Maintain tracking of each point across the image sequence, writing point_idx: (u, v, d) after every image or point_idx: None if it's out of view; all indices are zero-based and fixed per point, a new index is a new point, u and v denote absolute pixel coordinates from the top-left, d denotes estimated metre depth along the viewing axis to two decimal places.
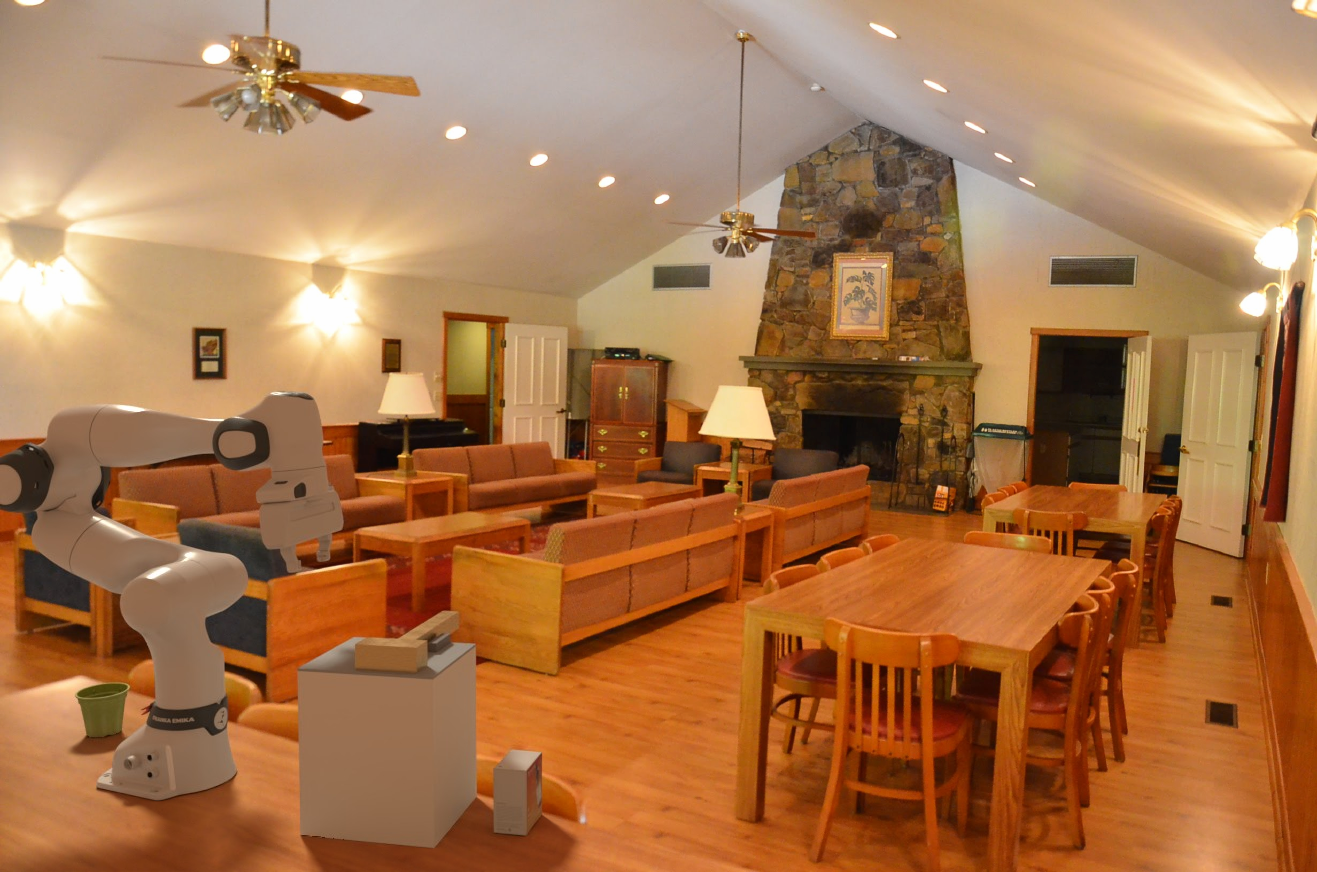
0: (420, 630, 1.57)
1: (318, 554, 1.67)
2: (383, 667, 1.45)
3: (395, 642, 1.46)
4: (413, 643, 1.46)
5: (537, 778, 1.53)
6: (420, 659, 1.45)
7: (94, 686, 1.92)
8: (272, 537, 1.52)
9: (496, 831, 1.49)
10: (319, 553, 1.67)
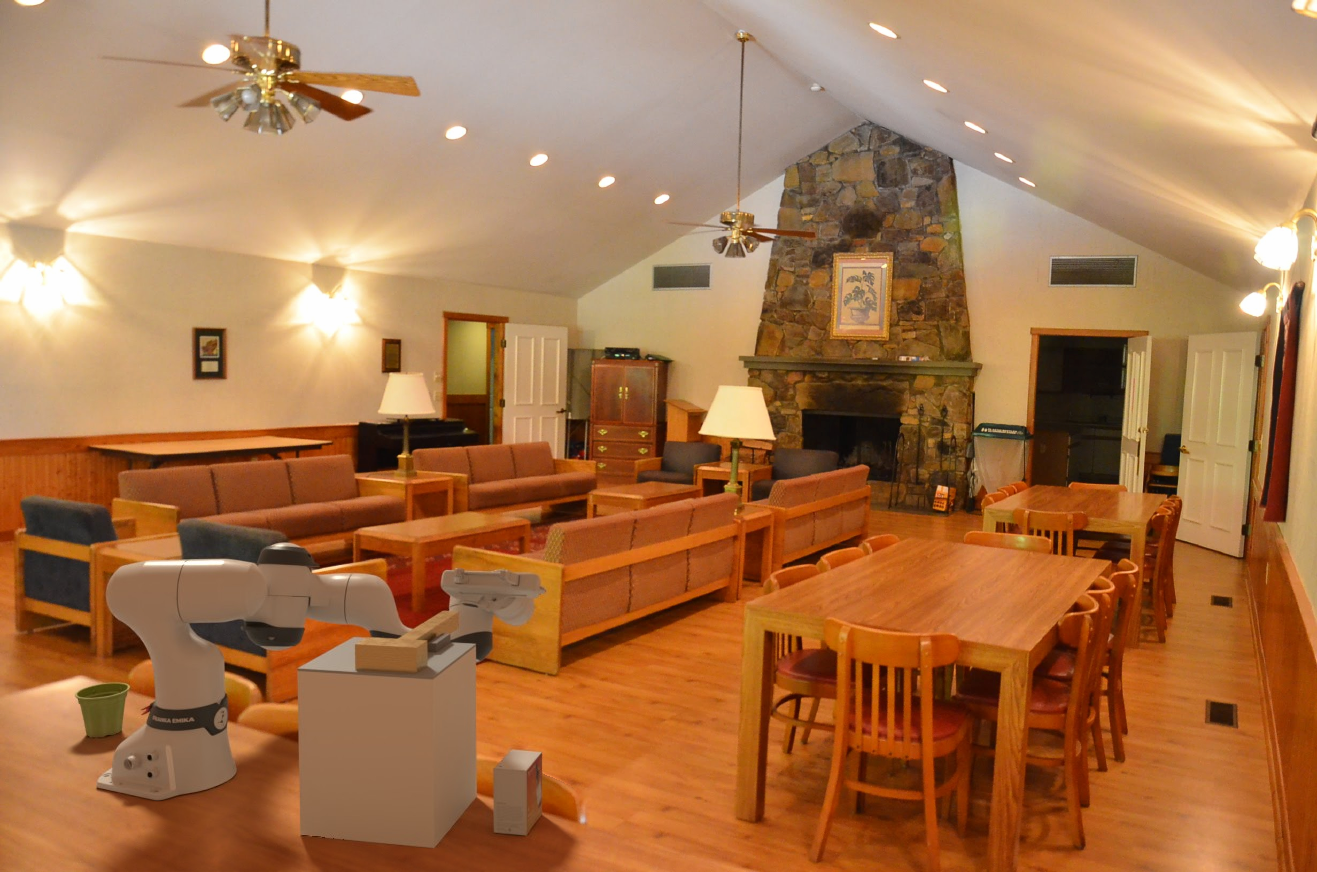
0: (420, 630, 1.57)
1: None
2: (383, 667, 1.45)
3: (395, 642, 1.46)
4: (413, 643, 1.46)
5: (537, 778, 1.53)
6: (420, 659, 1.45)
7: (94, 686, 1.92)
8: None
9: (496, 831, 1.49)
10: None
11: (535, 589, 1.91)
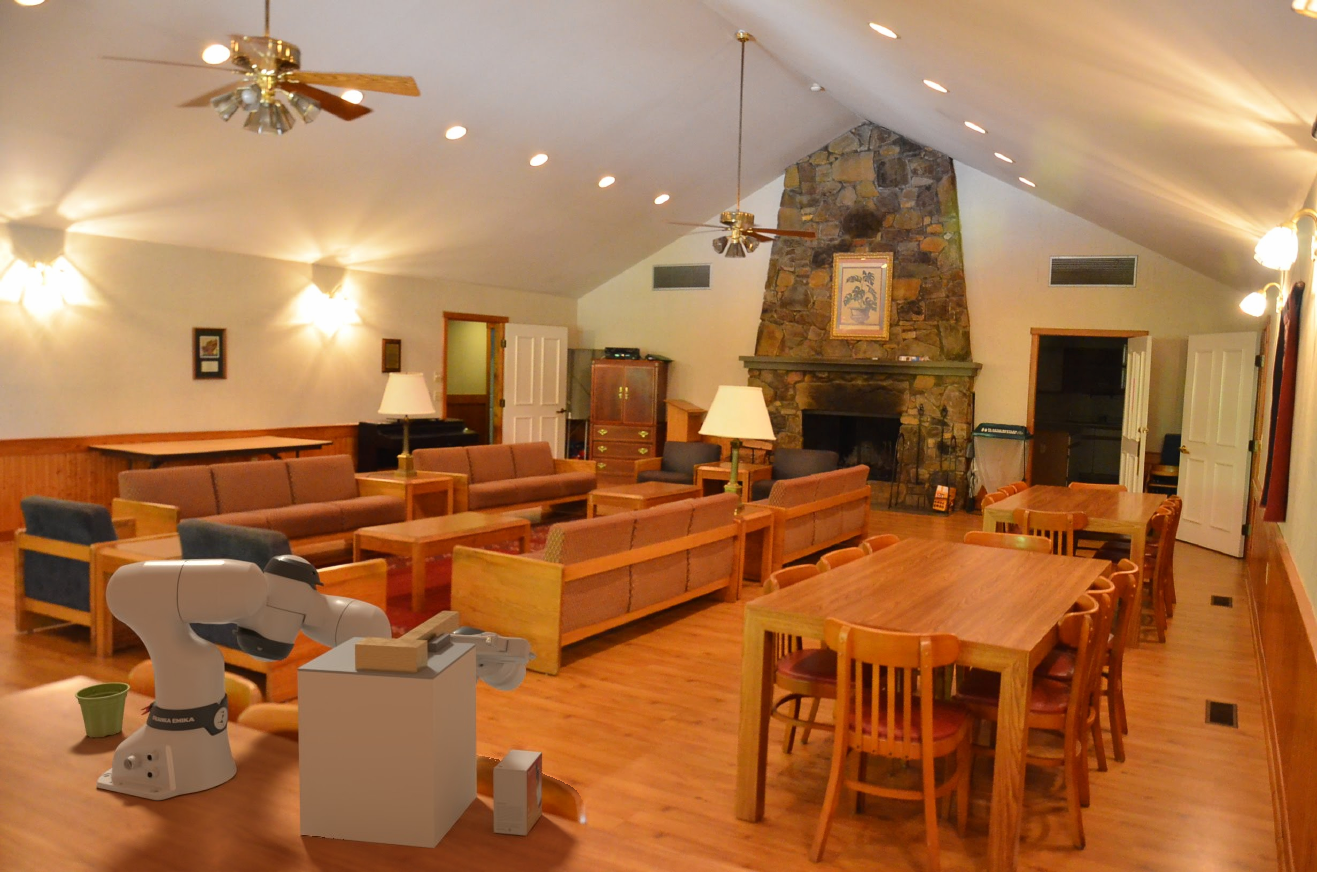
0: (420, 630, 1.57)
1: None
2: (383, 667, 1.45)
3: (395, 642, 1.46)
4: (413, 643, 1.46)
5: (537, 778, 1.53)
6: (420, 659, 1.45)
7: (94, 686, 1.92)
8: None
9: (496, 831, 1.49)
10: None
11: (524, 655, 1.79)
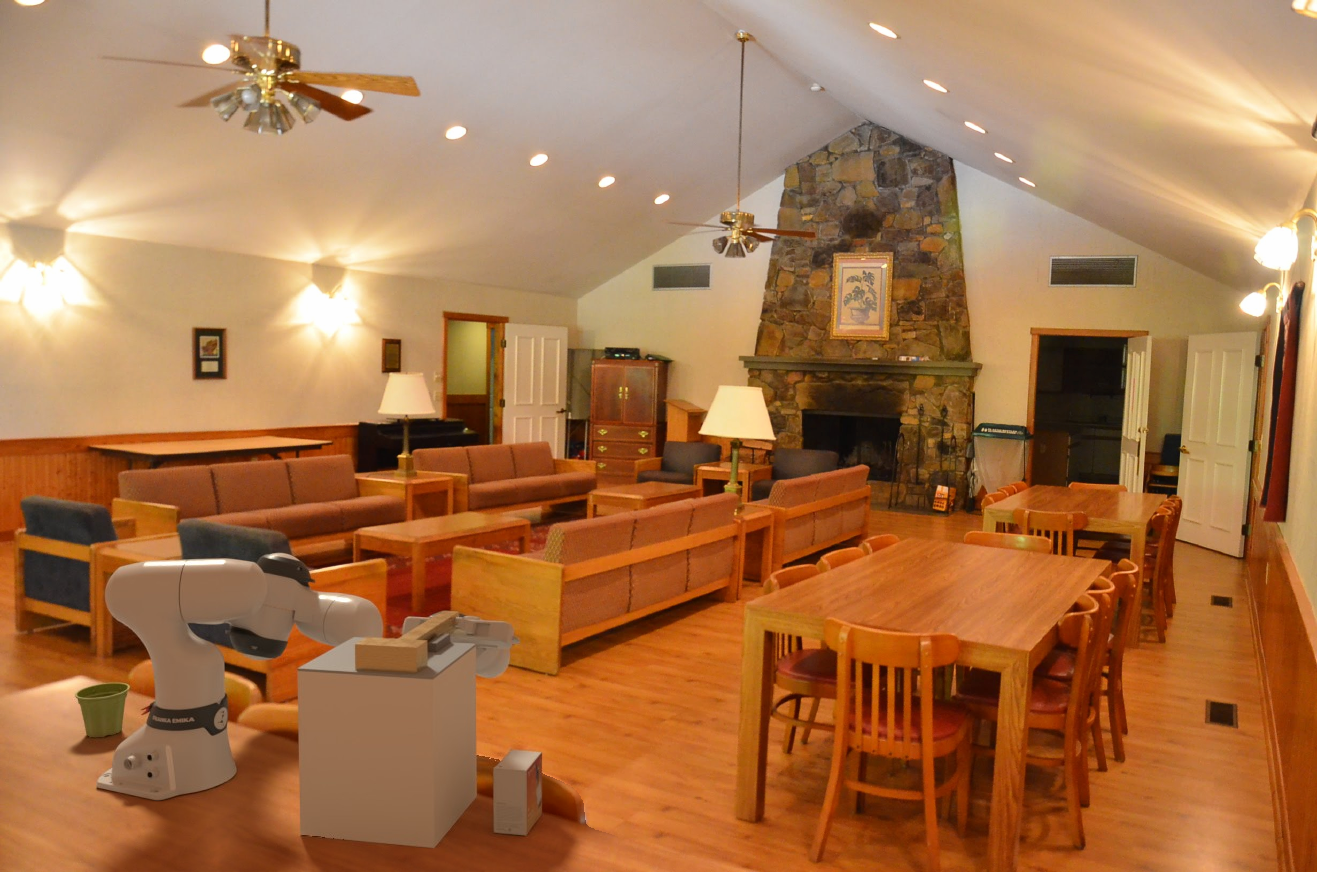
0: (420, 630, 1.57)
1: None
2: (383, 667, 1.45)
3: (395, 642, 1.46)
4: (413, 643, 1.46)
5: (537, 778, 1.53)
6: (420, 659, 1.45)
7: (94, 686, 1.92)
8: None
9: (496, 831, 1.49)
10: None
11: (506, 640, 1.71)
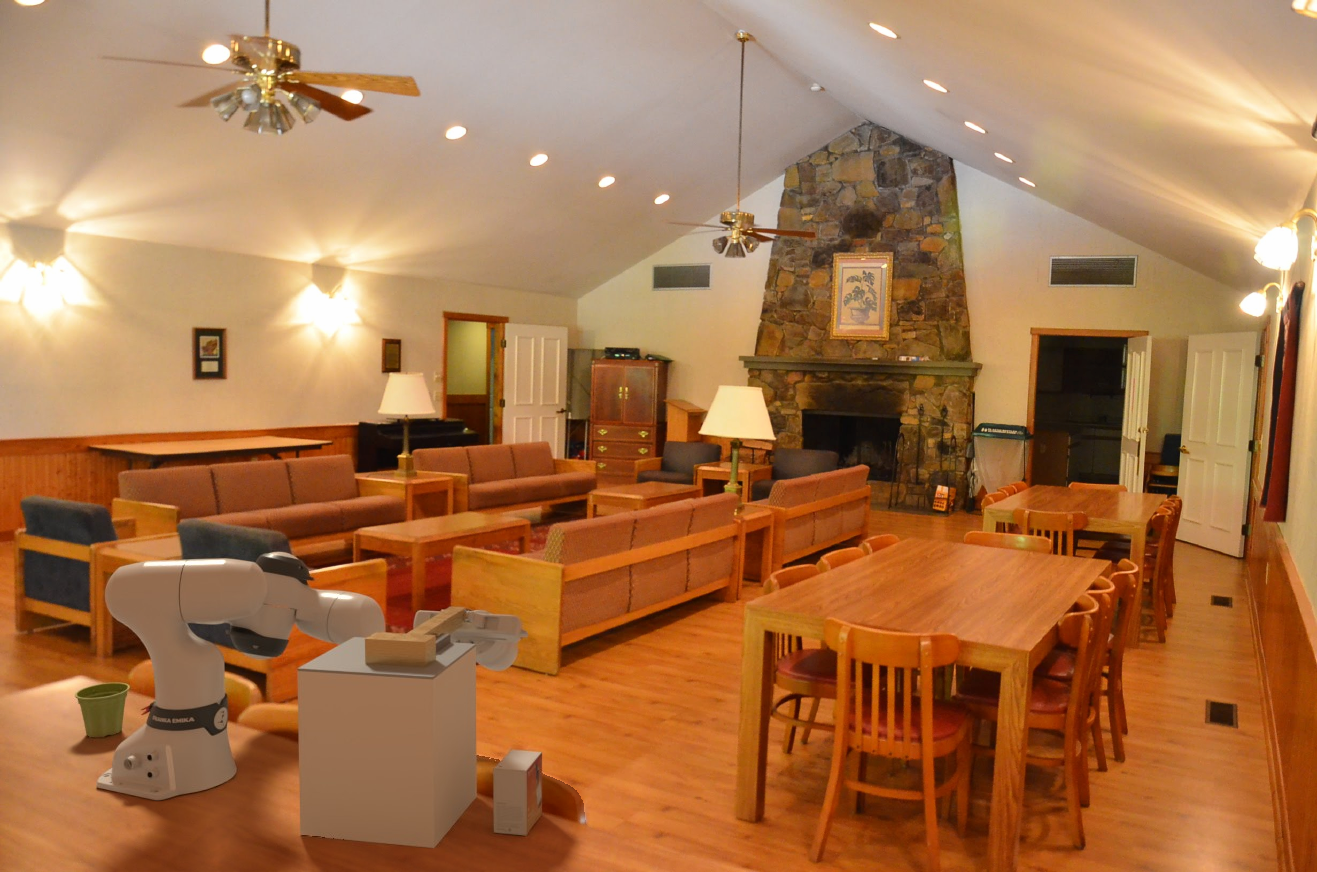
0: (428, 625, 1.60)
1: None
2: (392, 661, 1.48)
3: (404, 637, 1.49)
4: (422, 637, 1.50)
5: (537, 778, 1.53)
6: (428, 653, 1.48)
7: (94, 686, 1.92)
8: None
9: (496, 831, 1.49)
10: None
11: (515, 633, 1.75)
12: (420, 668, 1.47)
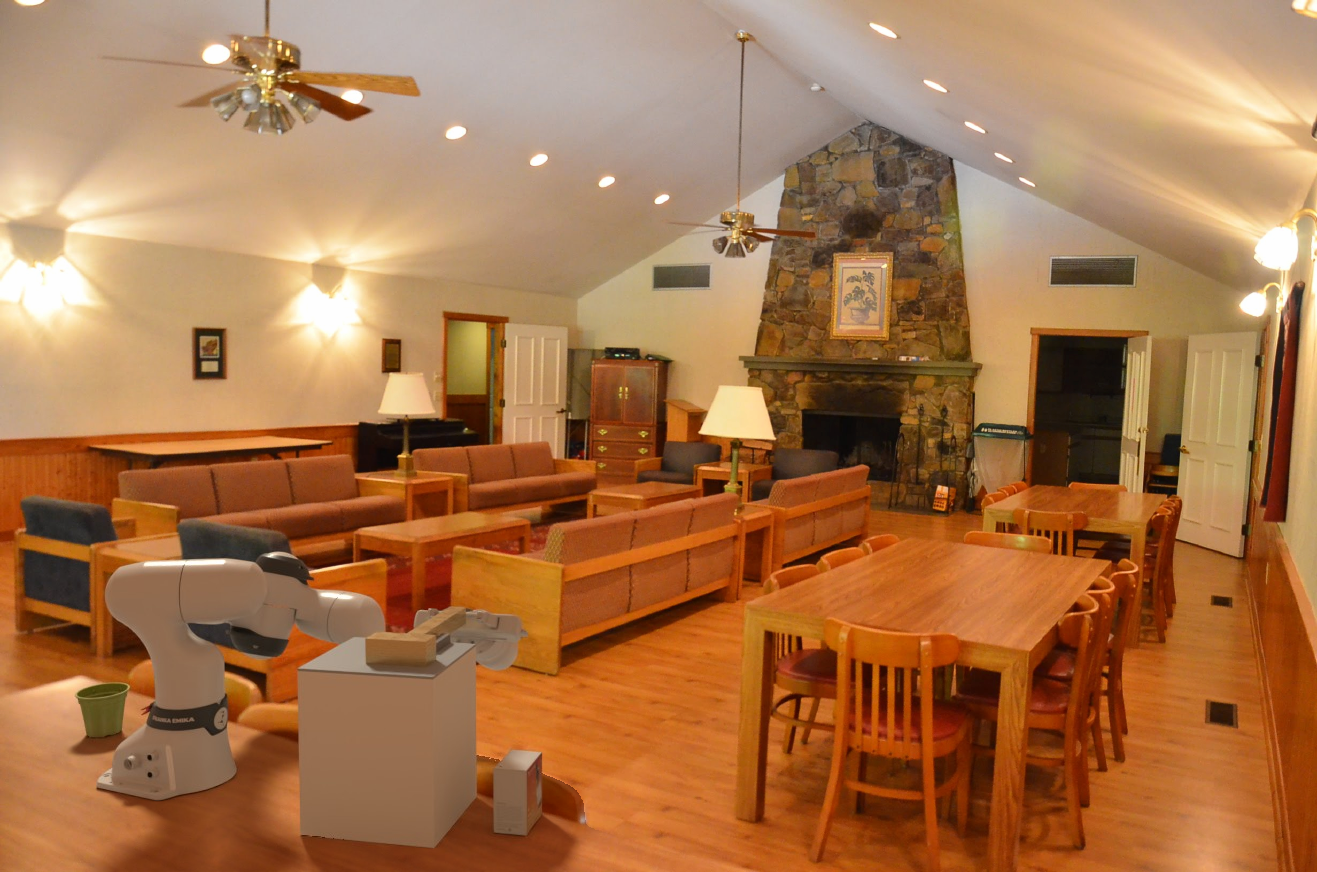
0: (428, 625, 1.61)
1: None
2: (392, 661, 1.48)
3: (405, 637, 1.50)
4: (422, 637, 1.50)
5: (537, 778, 1.53)
6: (429, 653, 1.49)
7: (94, 686, 1.92)
8: None
9: (496, 831, 1.49)
10: None
11: (515, 632, 1.75)
12: (420, 668, 1.47)
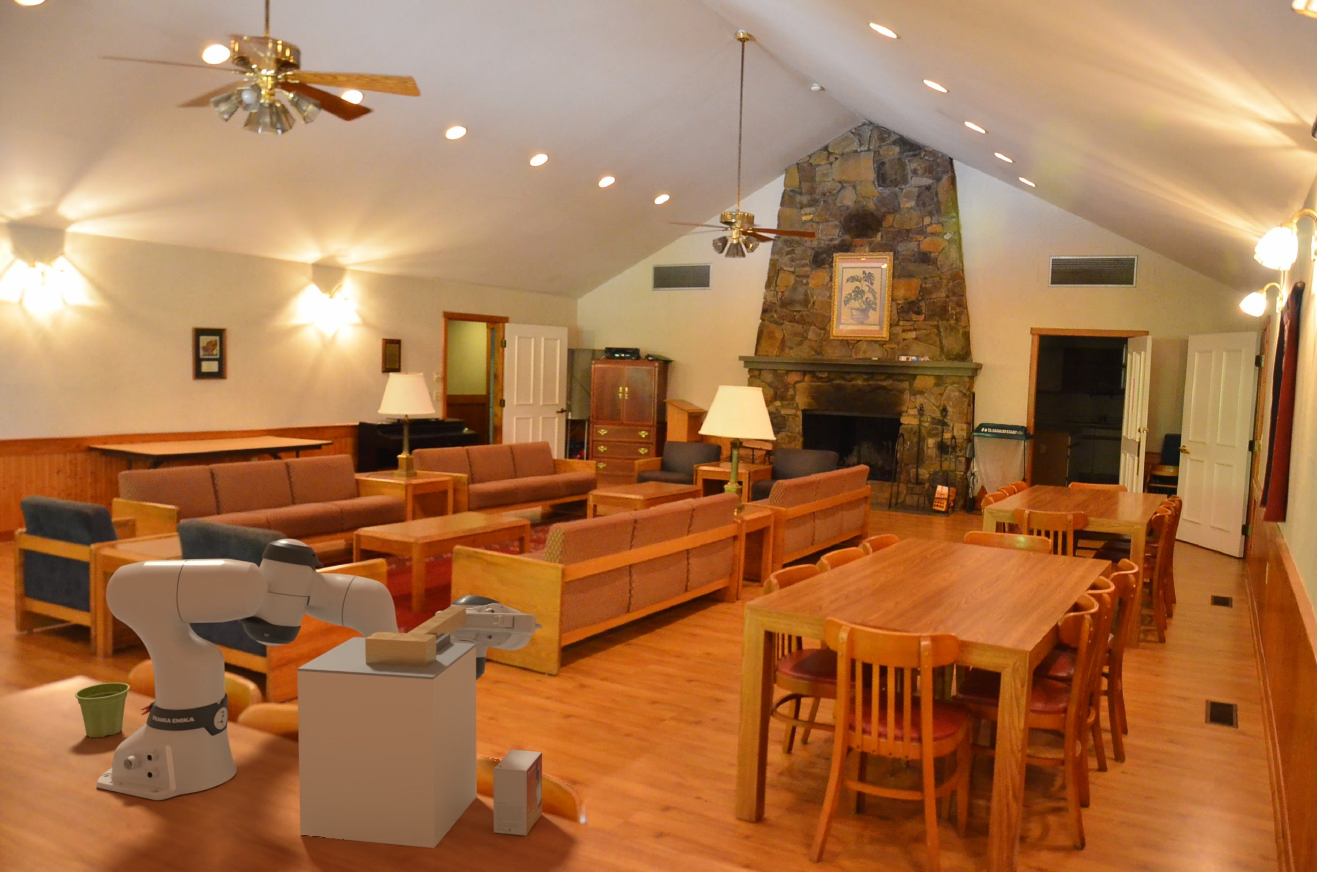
0: (428, 625, 1.61)
1: None
2: (392, 661, 1.48)
3: (405, 637, 1.50)
4: (422, 637, 1.50)
5: (537, 778, 1.53)
6: (429, 653, 1.49)
7: (94, 686, 1.92)
8: None
9: (496, 831, 1.49)
10: None
11: (530, 630, 1.87)
12: (420, 668, 1.47)
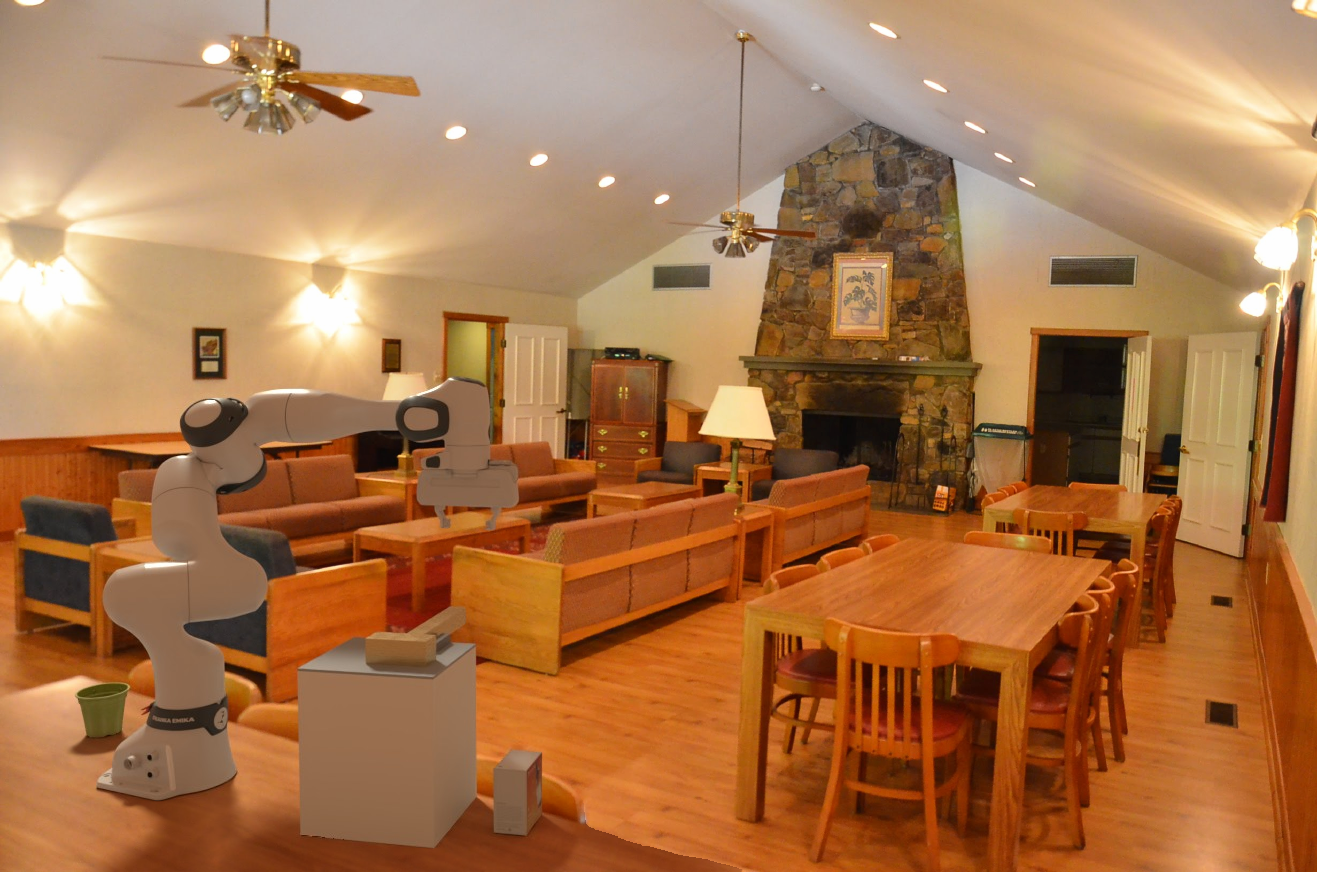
0: (428, 625, 1.61)
1: None
2: (392, 661, 1.48)
3: (405, 637, 1.50)
4: (422, 637, 1.50)
5: (537, 778, 1.53)
6: (429, 653, 1.49)
7: (94, 686, 1.92)
8: None
9: (496, 831, 1.49)
10: None
11: (518, 500, 1.88)
12: (420, 668, 1.47)
